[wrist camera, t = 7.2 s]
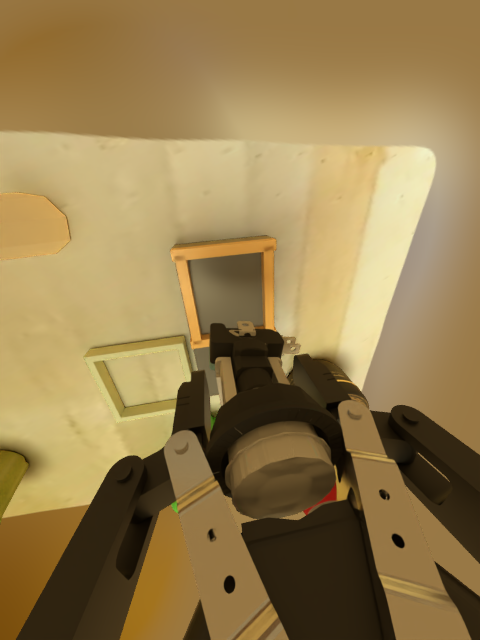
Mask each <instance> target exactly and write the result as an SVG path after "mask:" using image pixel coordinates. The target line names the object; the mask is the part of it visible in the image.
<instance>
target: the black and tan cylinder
mask: <svg viewBox="0 0 480 640" xmlns="http://www.w3.org/2000/svg"><path fill="white" fill-rule="evenodd" d="M242 324H247V325H249V326H243V325H242ZM237 325H238V328H226V327H225V325H224V324H222V323H212V324H211V325H210V341H209V366H210V369H211V370H215V371H216V372H217V373H220V377H221V387H222V397H223V406H221V407H220V409H219V411H218V414H217V417H216V419H215V422H214V425H213V428H212V430H211V433H210V441H209V442H208V444H207V447H206V450H205V454H204V455H205V457H206V459H207V462H208V464H209V466H210V469H211V471H212V473H213V476H214V478H215V479H216V480H217V481H218V483H219V485H220V488H221V490H222V492H223V494H224V495H225V496H228V497H231V498H232V502H233V505H234V506H235V507H236V510H237V511H238V512H240V513H241V514H243V515H246V516H249V517H251V518H253V519H263V518H268V517H270V518H281V517H285V516H290V515H294V514H298V513H299V512H302V511H304V510H306V509H308V508H310V507H312V506H314V505H316V504H317V503H318V502H320V501H322V499H323V498H324V497H325V496H326V495H327V494H329V493H330V491H331V489H332V488H333V487H334V485H335V481H336V475H335V471H336V470H335V468H334V466H335V463H337V462H338V460H339V458H340V456H341V454H342V452H343V449H342V443H341V435H342V431H343V430H342V428H341V427H340V425H339V423H338V422H337V420H336V419H335V417H334V416H333V415H332V414H331V413H330V412H329V411H328V410H326V409H325V408H323V407H321V406H320V405H319V404H318V403H317V402H316V401H315V400H314V399H313V398H312V397H311V396H310V395H308V394H307V393H306V392H305V391H304V390H303V389H302V388H301V387H299V386H295V385H290V383H289V381H288V379H287V377H286V375H285V373H284V371H283V369H282V361H281V355H284V354H298V353H299V350H300V346H301V345H300V344H295V341H296V338H295V337H282V335H280V334H279V333H278V332H276V331H274V330H272V329H255V328H254V326H253V323H252V322H250V321H238V322H237ZM287 340H291V343H290V344H287V342H286V341H287ZM293 346H294V347H296V348H295V350H294V351H291V350H290V349H291V347H293Z"/></svg>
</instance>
